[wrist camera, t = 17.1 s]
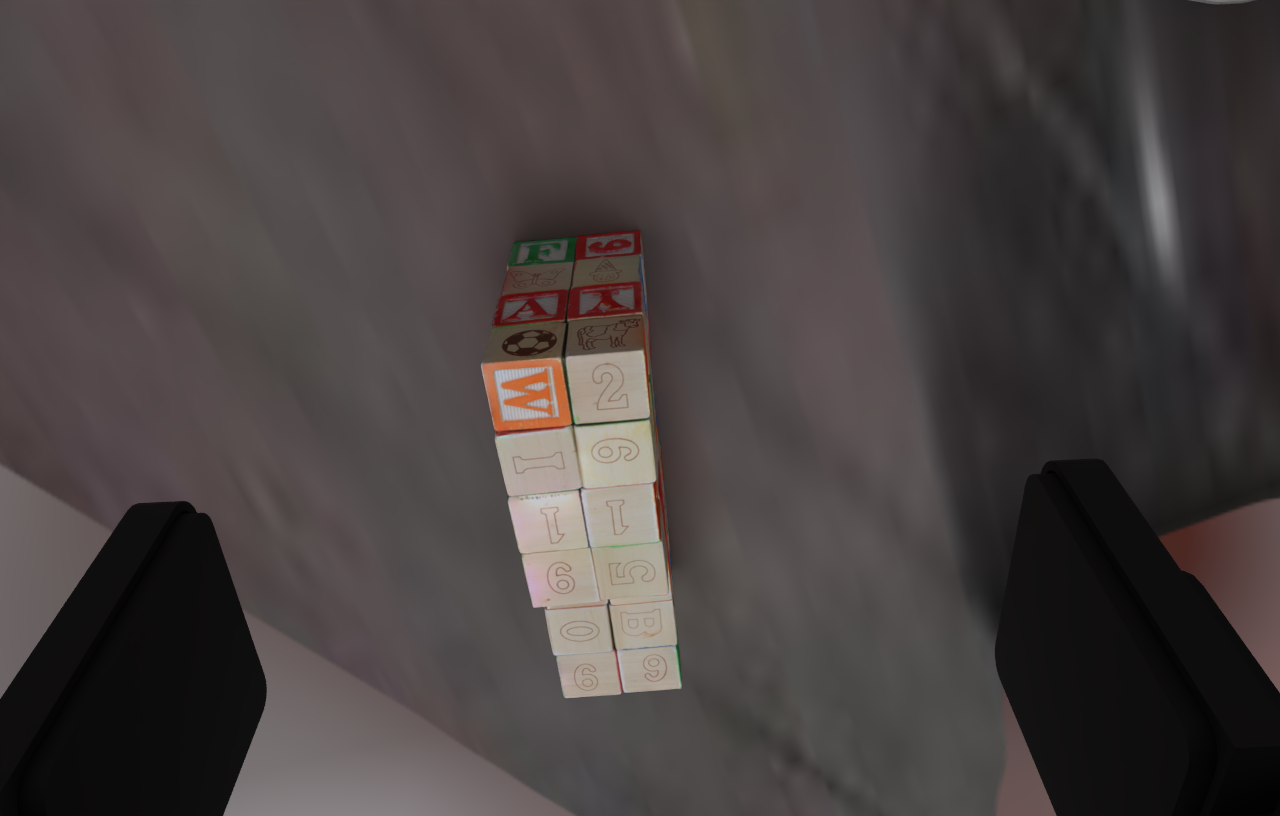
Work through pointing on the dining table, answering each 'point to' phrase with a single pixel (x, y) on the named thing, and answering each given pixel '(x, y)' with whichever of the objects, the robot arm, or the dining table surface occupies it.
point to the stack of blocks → (585, 459)
